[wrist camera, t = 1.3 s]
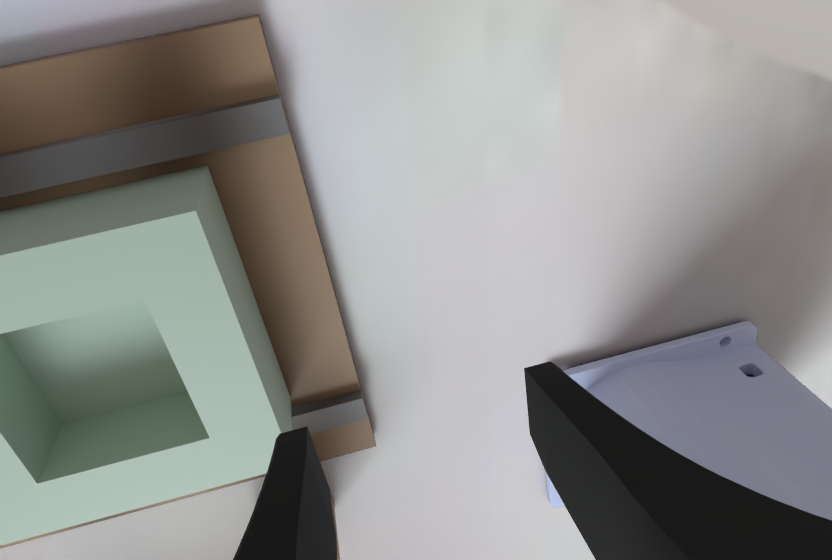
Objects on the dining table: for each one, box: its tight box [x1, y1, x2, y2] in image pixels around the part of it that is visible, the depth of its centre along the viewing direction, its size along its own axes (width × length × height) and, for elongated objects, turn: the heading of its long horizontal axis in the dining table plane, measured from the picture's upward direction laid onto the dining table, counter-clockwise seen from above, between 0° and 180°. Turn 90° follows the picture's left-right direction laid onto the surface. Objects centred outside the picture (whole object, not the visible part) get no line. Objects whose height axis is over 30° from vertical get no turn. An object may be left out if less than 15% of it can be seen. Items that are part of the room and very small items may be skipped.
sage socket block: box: [0, 165, 292, 545], centre depth 18 cm, size 9×9×3 cm
